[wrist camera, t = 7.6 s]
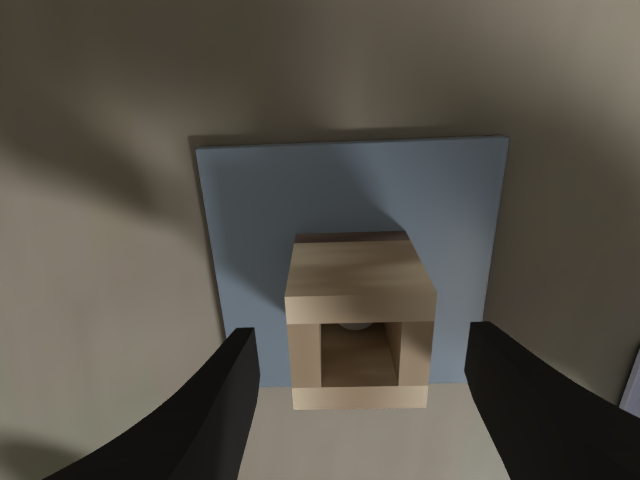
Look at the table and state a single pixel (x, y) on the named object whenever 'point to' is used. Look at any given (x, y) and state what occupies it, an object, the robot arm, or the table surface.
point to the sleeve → (359, 321)
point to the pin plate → (353, 227)
